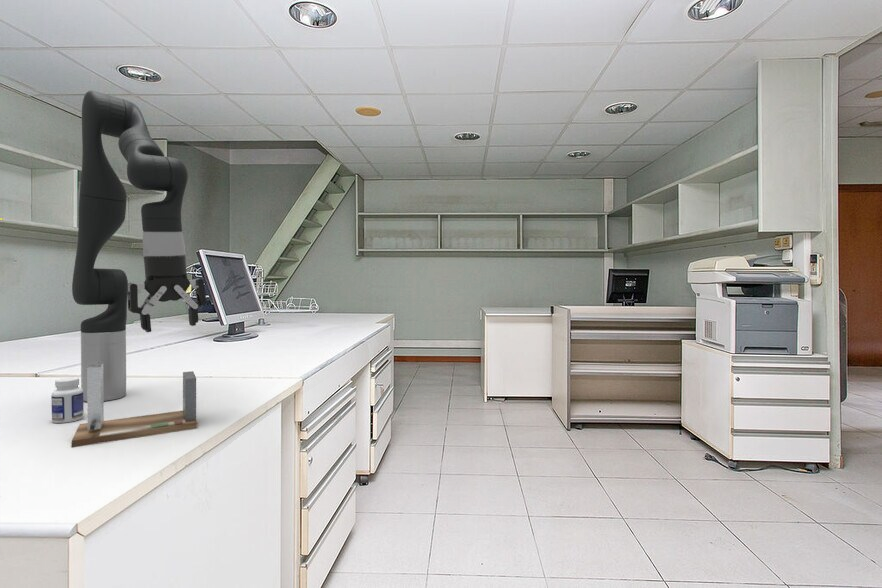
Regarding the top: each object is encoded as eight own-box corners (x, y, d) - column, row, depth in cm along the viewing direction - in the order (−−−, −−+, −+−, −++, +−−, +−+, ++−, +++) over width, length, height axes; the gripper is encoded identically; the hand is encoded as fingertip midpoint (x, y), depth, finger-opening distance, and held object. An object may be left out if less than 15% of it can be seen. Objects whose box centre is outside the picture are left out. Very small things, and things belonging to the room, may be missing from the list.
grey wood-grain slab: (182, 412, 98) (182, 372, 97) (193, 410, 99) (193, 371, 98) (185, 422, 91) (185, 379, 91) (196, 420, 92) (196, 377, 92)
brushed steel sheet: (91, 422, 88) (90, 362, 88) (103, 420, 89) (103, 362, 89) (85, 436, 80) (84, 371, 80) (99, 434, 82) (98, 370, 81)
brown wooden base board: (79, 429, 89) (79, 422, 89) (192, 414, 100) (192, 407, 100) (71, 447, 80) (71, 439, 80) (196, 428, 91) (196, 421, 91)
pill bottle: (82, 414, 99) (81, 375, 99) (85, 420, 95) (84, 379, 95) (50, 419, 95) (50, 378, 95) (52, 425, 91) (52, 383, 91)
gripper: (195, 251, 100) (200, 321, 103) (119, 253, 90) (127, 330, 92) (207, 253, 95) (212, 326, 97) (128, 255, 85) (136, 337, 87)
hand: (171, 328), depth 95 cm, fingers open, 8 cm apart
